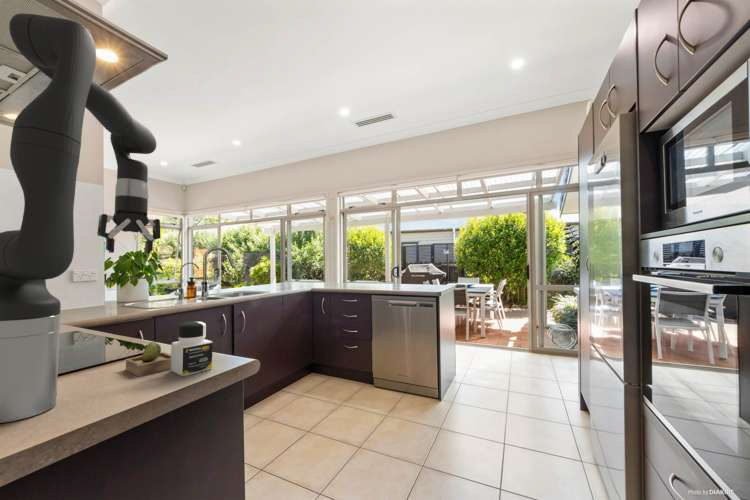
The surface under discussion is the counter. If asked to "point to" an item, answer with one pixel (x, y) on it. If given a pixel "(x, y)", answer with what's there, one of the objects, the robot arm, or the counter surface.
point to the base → (148, 365)
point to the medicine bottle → (191, 350)
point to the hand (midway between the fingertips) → (129, 253)
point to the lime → (151, 352)
